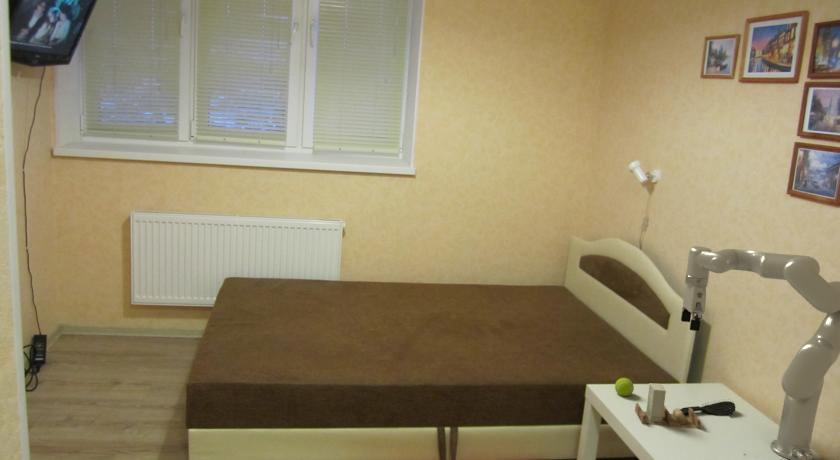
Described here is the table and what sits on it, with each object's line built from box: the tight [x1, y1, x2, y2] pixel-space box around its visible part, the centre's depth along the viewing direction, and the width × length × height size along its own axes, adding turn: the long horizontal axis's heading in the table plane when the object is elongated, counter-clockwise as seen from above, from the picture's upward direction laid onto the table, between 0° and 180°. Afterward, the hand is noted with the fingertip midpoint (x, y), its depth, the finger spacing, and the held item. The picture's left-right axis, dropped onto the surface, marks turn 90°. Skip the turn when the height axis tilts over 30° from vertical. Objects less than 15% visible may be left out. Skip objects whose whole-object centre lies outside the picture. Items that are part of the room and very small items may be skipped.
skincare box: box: [645, 382, 667, 422], centre depth 236 cm, size 6×4×12 cm
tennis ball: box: [614, 377, 635, 397], centre depth 255 cm, size 7×7×7 cm
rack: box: [634, 402, 701, 430], centre depth 236 cm, size 10×20×4 cm, turn 86°
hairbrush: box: [679, 399, 736, 417], centre depth 245 cm, size 8×4×25 cm
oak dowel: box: [672, 408, 688, 425], centre depth 236 cm, size 7×3×3 cm, turn 176°
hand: (689, 325), depth 240 cm, fingers open, 9 cm apart
